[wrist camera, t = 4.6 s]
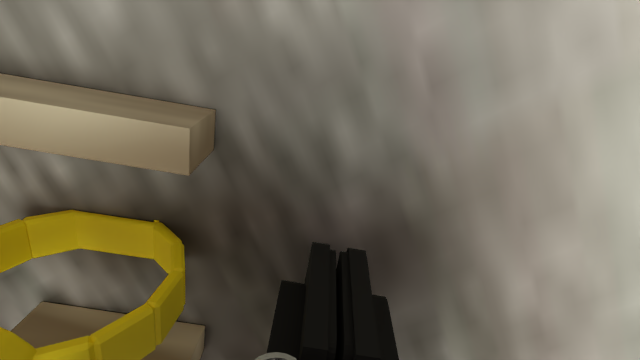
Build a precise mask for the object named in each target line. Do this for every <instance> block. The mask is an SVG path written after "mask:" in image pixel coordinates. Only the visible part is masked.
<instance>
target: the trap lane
mask: <svg viewBox="0 0 640 360" xmlns="http://www.w3.org/2000/svg"><path fill="white" fill-rule="evenodd" d="M215 112H216V110H214V109H208V108H202V107H196V106H190V105H184V104H178V103H172V102H166V101H160V100H155V99H149V98H143V97H137V96H131V95H125V94H119V93H113V92H107V91H101V90H96V89H90V88H84V87H78V86H72V85H66V84H60V83H54V82H48V81H42V80H36V79H31V78H25V77H19V76H13V75H7V74H1V73H0V145H4V146H10V147H16V148H22V149H29V150H35V151H41V152H47V153H53V154H59V155H65V156H71V157H78V158H84V159H90V160H96V161H102V162H108V163H114V164H121V165H127V166H133V167H139V168H145V169H151V170H157V171H163V172H170V173H176V174H182V175H188V176H189V175H190V174H191V173H192V172H193V171H194V170H195V169H196V168H197V167H198V166H199V164H200V163H201V162H202V161H203V160H204V159H205V158H206V157H207V156H208V155H209V154H210V153H211V152H212V151H213V150H214V133H215ZM124 315H126V314H122V313H115V312H108V311H102V310H95V309H88V308H82V307H75V306H68V305H62V304H55V303H48V302H41V303H40V304H39V305H38V306H37V307H36V308H35V309H34V310H33V311H31V312H30V313H29V314H28V315H27V316H26V317H25V318H24V319H23V320H22V321H21V322H20V323H19V324H18V325H17V326H16V327H15V328H14V329H13V330H12V331H10V332H12V333H14V334H16V335H17V336H19V337H20V338H22V339H23V340H25V341H26V342H28V343H29V344H30V345H32V346H33V347H34V348H35V349H36V348H40V347H44V346H48V345H52V344H56V343H60V342H64V341H68V340H72V339H76V338H80V337H84V336H90V335H91V334H93V333H94V332H96V331H98V330H100V329H102V328H103V327H105V326H107V325H109V324H110V323H112V322H114V321H116V320H117V319H119V318H121V317H123V316H124ZM204 336H205V326H202V325H195V324H189V323H182V322H175V323H174V325H173V326H172V328H171V329H170V331H169V333H168V334H167V336H166V337H165V339H164V340H163V342H162V343H161V344H159V345H156V348H155V350H154V351H152V352H151V353H149V354H148V355H147V356H145V357H144V358H142V359H141V360H200V358H201V355H202V353H203V350H204Z"/></svg>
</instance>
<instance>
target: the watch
mask: <svg viewBox="0 0 640 360" xmlns="http://www.w3.org/2000/svg"><path fill="white" fill-rule="evenodd" d="M159 221H160V220H154V222H149V221H142V220H136V219H129V218H122V217H116V216H109V215H102V214H96V213H89V212H82V211H75V210H67V211H61V212H55V213H48V214H42V215H36V216H30V217H25V218H24V219H23V220H20V219H17V220H14V221H11V222H9V223H6V224H3V225H0V273H2V272H4V271H6V270H8V269H11V268H13V267H15V266H17V265H19V264H22V263H24V262H26V261H28V260H30V259H31V258H38V257H43V256H47V255H52V254H56V253H61V252H66V251H70V250H75V249H79V248H81V249H87V250H94V251H101V252H108V253H114V254H121V255H128V256H135V257H142V258H148V259H155V261H156V262H157V263H158V264H159V265H160V266H161V267H162V268H163V269H164V270H165V271H166V272H167V273H168V276H167V277H166V278H165V279H164V281H163V282H162V283H161V284H160V286H159V287H158V288H157V289H156V291H155V292H154V293H153V294H152V296H151V297H150V298H149V299H148V301H147V302H146V303H145V304H144V305H142V306H140V307H139V308H137V309H135V310H133V311H131V312H130V313H128V314H126V315H124V316H123V317H121V318H119V319H117V320H116V321H114V322H112V323H110V324H109V325H107V326H105V327H103V328H102V329H100V330H98V331H96V332H94V333H93V334H91V335H90V336H84V337H80V338H76V339H72V340H68V341H64V342H60V343H56V344H52V345H48V346H44V347H40V348H36V349H35V348H34V347H33V346H32V345H30V344H29V343H28V342H26V341H25V340H23V339H22V338H20V337H19V336H17V335H16V334H14V333H12V332H10V331H8V330H6V329H3V328H1V327H0V360H141V359H142V358H144V357H145V356H147V355H148V354H149V353H151V352H152V351H154V350H155V348H156V345H159V344H161V343H162V342H163V340H164V339H165V337H166V336H167V334H168V333H169V331H170V329H171V328H172V326H173V325H174V323H175V322H176V320H177V319H178V317H179V316H180V314H181V313H182V311H183V309H184V305H185V256H184V245H183V244H182V241H181V240H180V239H179V238H178V237H177V236H176V235H175V234H174V233H173V232H172V231H171V230H169V229H168V228H167V227H166V226H165V225H164V224H163V223H161V222H160V223H159Z"/></svg>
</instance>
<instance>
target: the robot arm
mask: <svg viewBox="0 0 640 360" xmlns="http://www.w3.org/2000/svg"><path fill="white" fill-rule="evenodd" d="M255 360H399V358H398V353H397V348H396V343H395V337H394V332H393V327H392V322H391V317H390V312H389V307H388V302H387V299H386V297H383V296H377V295H372V292H371V285H370V278H369V271H368V263H367V256H366V251H364V250H358V249H352V248H348V249H347V251H346V252H342V251H341V252H340V255H339V259H338V263H337V268H336V250H330V245H328V244H322V243H316V242H313V243H312V247H311V252H310V257H309V262H308V268H307V273H306V278H305V283H304V284H302V283H296V282H290V281H283V280H282V281H281V285H280V290H279V295H278V300H277V305H276V310H275V315H274V320H273V325H272V330H271V335H270V339H269V344H268V349H267V353H266V354H264V355H261V356H259V357H257V358H256V359H255Z"/></svg>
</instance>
